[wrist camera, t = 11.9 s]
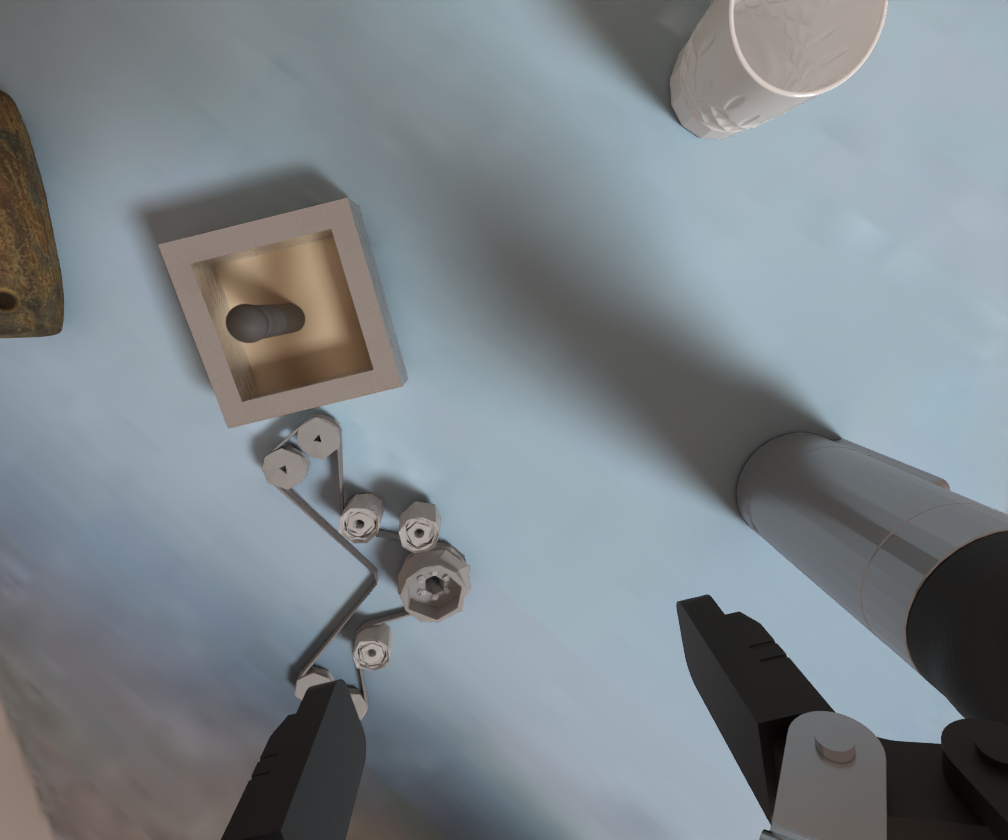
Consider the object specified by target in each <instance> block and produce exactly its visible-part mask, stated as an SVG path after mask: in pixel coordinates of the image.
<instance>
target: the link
mask: <svg viewBox="0 0 1008 840" xmlns="http://www.w3.org/2000/svg"><path fill="white" fill-rule="evenodd" d="M331 237H334V239H335V243H336V246H337V249H338V253H339V256H340V259H341V263H342V266H343V269H344V273H345V276H346V279H347V283H348V286H349V289H350V293H351V296H352V299H353V303H354V306H355V309H356V313H357V316H358V319H359V322H360V326H361V329H362V332H363V336H364V339H365V342H366V346H367V349H368V352H369V356H370V359H371V362H372V367H367V368H363V369H359V370H355V371H351V372H347V373H343V374H339V375H335V376H330V377H326V378H322V379H318V380H314V381H310V382H306V383H302V384H298V385H293V386H289V387H285V388H281V389H277V390H273V391H269V392H265V393H260V390H259V387H258V385H257V382H256V379H255V376H254V373H253V371H252V368H251V365H250V362H249V360H248V357H247V354H246V351H245V348H244V346H243V343H242V342H240V341H238V340H236V339H235V338H234V337H232V336H231V335H230V333H229V332H228V330H227V327H226V317H227V314H228V312H229V311H230V307H229V304H228V301H227V298H226V296H225V293H224V290H223V287H222V285H221V282H220V279H219V276H218V273H217V271H216V268H215V266H218V265H222V264H226V263H230V262H234V261H238V260H242V259H246V258H250V257H254V256H258V255H262V254H266V253H270V252H274V251H278V250H282V249H286V248H290V247H294V246H298V245H302V244H307V243H311V242H315V241H319V240H323V239H327V238H331ZM158 246H159V249H160V251H161V254H162V257H163V259H164V262H165V265H166V267H167V270H168V272H169V275H170V278H171V280H172V283H173V285H174V288H175V291H176V293H177V296H178V299H179V301H180V304H181V306H182V309H183V312H184V314H185V317H186V320H187V322H188V325H189V327H190V330H191V333H192V335H193V338H194V340H195V343H196V346H197V348H198V351H199V354H200V356H201V359H202V361H203V364H204V367H205V369H206V372H207V374H208V377H209V380H210V382H211V385H212V388H213V390H214V393H215V395H216V398H217V401H218V403H219V406H220V409H221V411H222V414H223V416H224V419H225V422H226V424H227V427H228V429H229V428H233V427H237V426H241V425H245V424H249V423H253V422H257V421H262V420H266V419H270V418H274V417H278V416H282V415H286V414H290V413H295V412H299V411H303V410H307V409H311V408H315V407H319V406H323V405H328V404H332V403H336V402H340V401H344V400H348V399H352V398H356V397H361V396H365V395H369V394H373V393H377V392H381V391H385V390H389V389H394V388H398V387H402V386H403V385H404V384H405V383H406V381H407V380H408V376H407V373H406V369H405V366H404V362H403V359H402V355H401V352H400V348H399V345H398V341H397V338H396V334H395V331H394V327H393V324H392V320H391V317H390V313H389V310H388V306H387V303H386V299H385V296H384V292H383V289H382V285H381V282H380V278H379V275H378V271H377V268H376V264H375V261H374V257H373V254H372V250H371V247H370V243H369V240H368V236H367V233H366V229H365V226H364V222H363V219H362V215H361V212H360V208H359V205H357V204H356V203H354V202H353V201H352V200H350V199H349V198H344V199H340V200H336V201H332V202H328V203H324V204H320V205H316V206H312V207H308V208H304V209H299V210H295V211H291V212H287V213H283V214H279V215H275V216H271V217H267V218H263V219H259V220H255V221H251V222H247V223H243V224H239V225H235V226H231V227H227V228H223V229H219V230H215V231H211V232H207V233H203V234H199V235H195V236H191V237H187V238H183V239H179V240H175V241H171V242H167V243H163V244H159V245H158Z"/></svg>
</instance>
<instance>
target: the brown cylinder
mask: <svg viewBox="0 0 1008 840" xmlns="http://www.w3.org/2000/svg"><path fill="white" fill-rule="evenodd" d="M63 317H64V293H63V285H62V275H61V269H60V264H59V259H58V255H57V249H56V243H55V239H54V234H53V228H52V223H51V219H50V215H49V209H48V204H47V198H46V193H45V190H44V186H43V183H42V179H41V174H40V171H39V168H38V165H37V162H36V158H35V154H34V151H33V148H32V145H31V141H30V138H29V135H28V132H27V129H26V127H25V125H24V122H23V120H22V117H21V115H20V113H19V110H18V108H17V106H16V104H15V102H14V101H13V99H12V98H11V97H10V96H9V95H7V94H6V93H4V92H3V91H1V90H0V338H24V337H44V336H51V335H55V334H58V333H60V332H61V330H62V326H63Z"/></svg>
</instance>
